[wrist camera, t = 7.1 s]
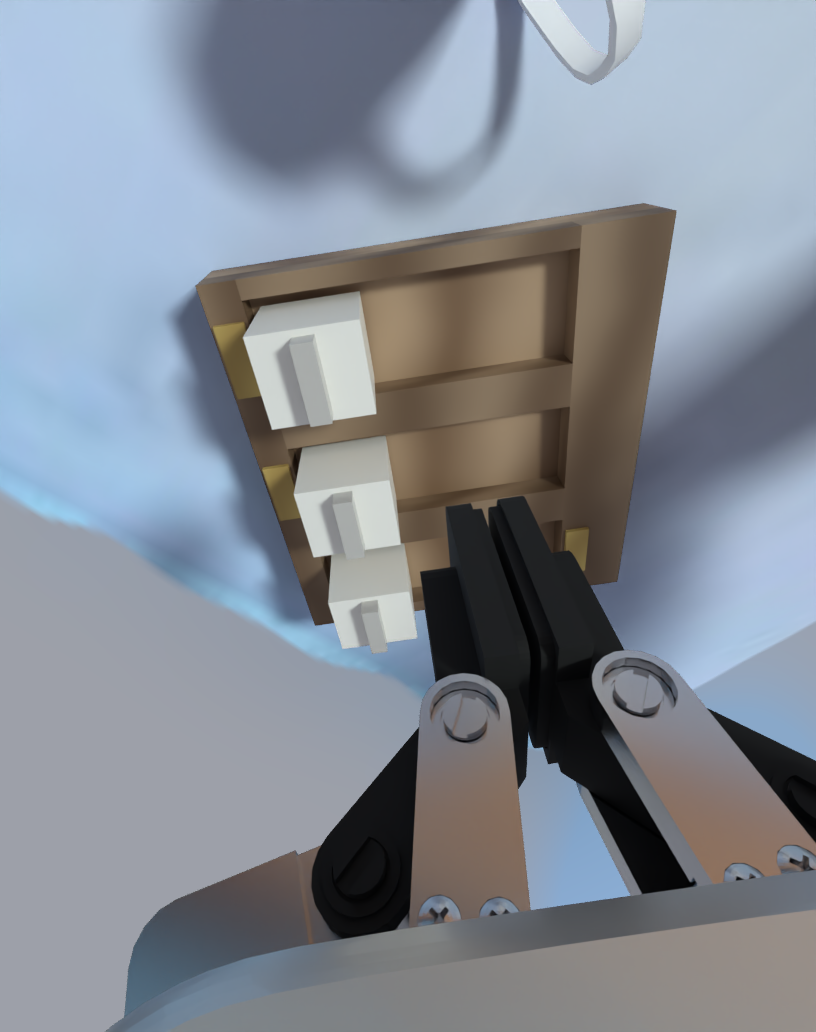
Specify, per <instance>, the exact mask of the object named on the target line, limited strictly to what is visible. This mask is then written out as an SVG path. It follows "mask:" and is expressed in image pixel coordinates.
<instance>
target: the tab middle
mask: <svg viewBox="0 0 816 1032" xmlns="http://www.w3.org/2000/svg"><path fill="white" fill-rule="evenodd" d="M294 497H295V500H296V503H297V506H298V509H299V513H300V516H301V519H302V522H303V525H304V528H305V532H306V535H307V538H308V541H309V544H310V547H311V550H312V554H313V557H321V556H327V555H334V554H341V553H345V554H346V558H347V560H350V559H356V558H363V557H365V550H368V549H375V548H381V547H388V546H395V545H401V542H400V532H399V522H398V512H397V502H396V494H395V488H394V482H393V476H392V470H391V465H390V459H389V453H388V447H387V441H386V436H385V435H383V436H376V437H370V438H363V439H356V440H350V441H343V442H337V443H330V444H323V445H317V446H310V447H304V448H302V453H301V458H300V463H299V469H298V474H297V479H296V485H295V490H294Z"/></svg>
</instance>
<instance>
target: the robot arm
mask: <svg viewBox="0 0 816 1032" xmlns="http://www.w3.org/2000/svg"><path fill="white" fill-rule="evenodd" d="M445 512H446V524H447V535H448V547H449V559H450V567H448V568H441V569H434V570H427V571H420V576H421V584H422V591H423V599H424V606H425V613H426V620H427V627H428V633H429V640H430V647H431V653H432V660H433V667H434V673H435V680H436V683H435V684H434V685H433V686H432V687H430V688H429V690H428V691H427V693H426V695H425V696H424V698H423V700H422V704H421V710H420V721H419V728H418V729H417V730H416V731H415V732H414V734H413V735H412V736H411V737H410V738H409V740H408V741H407V742H406V743H405V744H404V745H403V747H402V748H401V749H400V750H399V751H398V753H397V754H396V755H395V756H394V757H393V759H392V760H391V761H390V762H389V764H388V765H387V766H386V767H385V768H384V769H383V771H382V772H381V773H380V774H379V775H378V777H377V778H376V779H375V780H374V781H373V782H372V784H371V785H370V786H369V787H368V788H367V790H366V791H365V792H364V793H363V794H362V796H361V797H360V798H359V799H358V800H357V802H356V803H355V804H354V805H353V806H352V807H351V809H350V810H349V811H348V812H347V814H346V815H345V816H344V817H343V818H342V819H341V821H340V822H339V823H338V824H337V825H336V826H335V828H334V829H333V830H332V831H331V832H330V834H329V835H328V836H327V838H326V839H325V841H324V842H323V844H322V845H321V846H318V847H316V848H314V849H311V850H309V851H306V852H304V853H301V854H299V855H298V854H297V852H296V851H293V852H290V853H288V854H285V855H283V856H280V857H278V858H276V859H273V860H271V861H268V862H266V863H263V864H261V865H259V866H256V867H254V868H251V869H249V870H246V871H244V872H242V873H239V874H237V875H234V876H232V877H229V878H227V879H225V880H222V881H220V882H217V883H215V884H212V885H210V886H207V887H205V888H203V889H200V890H198V891H195V892H193V893H191V894H188V895H186V896H183V897H181V898H178V899H176V900H174V901H173V902H171V903H170V904H168V905H167V906H165V907H163V908H162V909H160V910H159V911H158V912H157V913H156V914H155V916H153V918H152V919H151V920H150V921H149V922H148V923H147V924H146V925H145V927H144V928H143V930H142V932H141V934H140V936H139V938H138V940H137V942H136V943H135V945H134V948H133V952H132V956H131V960H130V964H129V969H128V979H127V992H126V1003H125V1015H124V1018H122V1019H121V1020H120V1021H118V1022H117V1023H115V1024H114V1025H112V1026H111V1027H110V1028H109V1029H108V1030H106V1032H816V761H815V760H813V759H811V758H809V757H806V756H805V755H802V754H801V753H798V752H797V751H794V750H792V749H790V748H788V747H786V746H784V745H782V744H780V743H778V742H776V741H774V740H772V739H770V738H768V737H766V736H764V735H761V734H759V733H757V732H755V731H753V730H751V729H749V728H747V727H745V726H743V725H741V724H739V723H737V722H735V721H732V720H731V719H728V718H726V717H724V716H722V715H720V714H718V713H716V712H714V711H712V710H710V709H708V708H706V707H705V705H704V704H703V703H702V702H701V700H700V699H699V698H698V697H697V696H696V694H695V693H694V692H693V691H692V689H691V688H690V687H689V686H688V684H687V683H686V682H685V681H684V679H683V678H682V677H681V676H680V674H679V673H678V672H676V671H675V670H674V669H673V668H672V667H671V666H670V665H669V664H668V663H666V662H664V661H663V660H661V659H659V658H658V657H656V656H653V655H650V654H647V653H645V652H641V651H632V650H624V649H623V647H622V645H621V643H620V641H619V639H618V637H617V636H616V634H615V632H614V630H613V628H612V626H611V624H610V622H609V620H608V619H607V617H606V615H605V613H604V611H603V609H602V607H601V605H600V603H599V602H598V600H597V598H596V596H595V594H594V592H593V590H592V588H591V586H590V585H589V583H588V581H587V579H586V577H585V575H584V573H583V571H582V569H581V568H580V566H579V564H578V562H577V560H576V558H575V557H574V555H573V554H572V552H570V551H569V550H568V551H561V552H554V553H551V551H550V549H549V547H548V544H547V542H546V540H545V538H544V536H543V534H542V532H541V530H540V528H539V526H538V524H537V521H536V519H535V517H534V515H533V513H532V511H531V509H530V507H529V505H528V503H527V501H526V499H525V497H524V496H517V497H510V498H503V499H498V500H497V505H496V506H494V507H489V508H488V525H487V522H486V519H485V516H484V513H483V510H482V509H481V508H480V509H473V507H472V505H471V503H467V504H460V505H453V506H446V507H445ZM528 732H529V736H530V739H531V742H532V745H533V747H534V748H542V747H543V749H544V752H545V756H546V759H547V762H548V764H551V763H558V764H559V767H560V770H561V772H562V773H563V774H565V775H566V776H568V777H569V778H571V779H573V780H574V781H576V783H577V787H578V790H579V793H580V795H581V797H582V799H583V801H584V803H585V805H586V807H587V809H588V811H589V813H590V815H591V817H592V819H593V821H594V823H595V825H596V827H597V829H598V831H599V833H600V835H601V837H602V839H603V841H604V843H605V845H606V847H607V849H608V851H609V853H610V855H611V857H612V859H613V861H614V863H615V865H616V867H617V869H618V871H619V873H620V875H621V877H622V879H623V881H624V883H625V885H626V887H627V889H628V891H629V893H630V895H631V896H627V897H620V898H613V899H606V900H599V901H592V902H585V903H579V904H571V905H564V906H557V907H550V908H544V909H536V910H531V909H530V900H529V890H528V881H527V871H526V862H525V851H524V842H523V832H522V823H521V813H520V803H519V794H518V789H519V787H520V786H521V784H522V783H523V781H524V779H525V778H526V767H527V748H528Z"/></svg>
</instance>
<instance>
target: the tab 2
mask: <svg viewBox="0 0 816 1032" xmlns="http://www.w3.org/2000/svg"><path fill="white" fill-rule="evenodd" d="M328 604H329V607H330V610H331V614H332V617H333V620H334V623H335V626H336V629H337V633H338V636H339V639H340V642H341V645H342V648H343V649H346V648H353V647H360V646H367V645H370V648H371V652H372V654H375V653H382V652H387V643H388V642H395V641H402V640H408V639H415V638H417V630H416V621H415V612H414V604H413V595H412V587H411V580H410V575H409V569H408V563H407V557H406V551H405V546H404V543H402V544H401V545H395V546H388V547H381V548H375V549H368V550H365V557H363V558H356V559H350V560H347V558H346V554H345V553H341V554H334V555H331V570H330V584H329V599H328Z"/></svg>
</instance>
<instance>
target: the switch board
mask: <svg viewBox="0 0 816 1032" xmlns="http://www.w3.org/2000/svg"><path fill="white" fill-rule="evenodd" d="M675 217H676V210H671V209H667V208H663V207H658V206H654V205H649V204H645V203H642V204H636V205H630V206H623V207H617V208H611V209H604V210H598V211H591V212H585V213H579V214H572V215H566V216H560V217H553V218H547V219H541V220H534V221H528V222H521V223H515V224H509V225H502V226H496V227H490V228H483V229H477V230H470V231H464V232H458V233H451V234H445V235H439V236H432V237H426V238H419V239H413V240H407V241H400V242H394V243H388V244H381V245H375V246H369V247H362V248H356V249H349V250H343V251H337V252H330V253H324V254H318V255H311V256H305V257H298V258H292V259H286V260H279V261H273V262H267V263H260V264H254V265H247V266H241V267H235V268H228V269H222V270H216V271H212V272H211V273H209V274H208V275H207V276H206V277H205V278H204V279H203V280H202V281H201V282H199V283H198V284H197V285H196V289H197V292H198V294H199V297H200V300H201V303H202V306H203V309H204V311H205V314H206V317H207V320H208V323H209V326H210V328H211V331H212V334H213V337H214V340H215V343H216V346H217V348H218V351H219V354H220V357H221V360H222V363H223V365H224V368H225V371H226V374H227V377H228V380H229V382H230V385H231V388H232V391H233V394H234V397H235V399H236V402H237V405H238V408H239V411H240V414H241V417H242V419H243V422H244V425H245V428H246V431H247V434H248V436H249V439H250V442H251V445H252V448H253V451H254V453H255V456H256V459H257V462H258V465H259V468H260V471H261V473H262V476H263V479H264V482H265V485H266V488H267V490H268V493H269V496H270V499H271V502H272V505H273V507H274V510H275V513H276V516H277V519H278V522H279V524H280V527H281V530H282V533H283V536H284V539H285V542H286V544H287V547H288V550H289V553H290V556H291V559H292V561H293V564H294V567H295V570H296V573H297V576H298V578H299V581H300V584H301V587H302V590H303V593H304V595H305V598H306V601H307V604H308V607H309V610H310V613H311V615H312V618H313V621H314V624H315V626H316V625H323V624H330V623H334V620H333V617H332V614H331V610H330V607H329V604H328V599H329V584H330V570H331V555H327V556H321V557H313V554H312V550H311V547H310V544H309V541H308V538H307V535H306V532H305V528H304V525H303V522H302V519H301V516H300V513H299V509H298V506H297V503H296V500H295V497H294V490H295V485H296V479H297V474H298V469H299V463H300V458H301V453H302V448H304V447H310V446H317V445H323V444H330V443H337V442H343V441H350V440H356V439H363V438H370V437H376V436H383V435H385V436H386V441H387V447H388V453H389V459H390V465H391V470H392V476H393V482H394V488H395V494H396V502H397V512H398V522H399V532H400V542H401V544H402V543H404V546H405V551H406V557H407V563H408V569H409V575H410V580H411V587H412V595H413V604H414V611H419V610H425V606H424V599H423V591H422V584H421V576H420V571H427V570H434V569H441V568H448V567H450V559H449V547H448V535H447V524H446V512H445V507H446V506H453V505H460V504H467V503H471V505H472V507H473V509H480V508H481V509H482V510H483V513H484V516H485V519H486V522H487V525H488V508H489V507H494V506H496V505H497V500H498V499H503V498H510V497H517V496H524V497H525V499H526V501H527V503H528V505H529V507H530V509H531V511H532V513H533V515H534V517H535V519H536V521H537V524H538V526H539V528H540V530H541V532H542V534H543V536H544V538H545V540H546V542H547V544H548V547H549V549H550V551H551V553H554V552H561V551H568V550H569V551H570V552H572V554H573V555H574V557H575V558H576V560H577V562H578V564H579V566H580V568H581V569H582V571H583V573H584V575H585V577H586V579H587V581H588V583H589V585H597V584H604V583H611V582H617V580H618V573H619V567H620V561H621V555H622V548H623V542H624V536H625V530H626V523H627V517H628V511H629V505H630V498H631V492H632V486H633V480H634V473H635V467H636V461H637V455H638V448H639V442H640V436H641V430H642V423H643V417H644V411H645V405H646V399H647V392H648V386H649V380H650V374H651V367H652V361H653V355H654V349H655V342H656V336H657V330H658V324H659V317H660V311H661V305H662V299H663V292H664V286H665V280H666V274H667V267H668V261H669V255H670V249H671V242H672V236H673V230H674V224H675ZM357 291H360V297H361V302H362V308H363V314H364V320H365V325H366V331H367V337H368V343H369V348H370V354H371V360H372V366H373V371H374V381H375V398H376V414H373V415H366V416H360V417H353V418H346V419H340V420H333V422H332V424H328V425H321V426H314V427H310V424H307V425H300V426H294V427H287V428H281V429H274V430H272V428H271V424H270V421H269V418H268V415H267V412H266V409H265V406H264V402H263V399H262V396H261V393H260V390H259V387H258V384H257V380H256V377H255V374H254V371H253V368H252V365H251V362H250V358H249V355H248V352H247V349H246V346H245V343H244V340H243V336H244V334H245V333H246V331H247V329H248V328H249V326H250V324H251V323H252V321H253V319H254V317H255V316H256V314H257V312H258V311H259V309H260V307H261V306H267V305H273V304H279V303H286V302H292V301H299V300H305V299H312V298H318V297H324V296H331V295H337V294H344V293H350V292H357Z"/></svg>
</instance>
